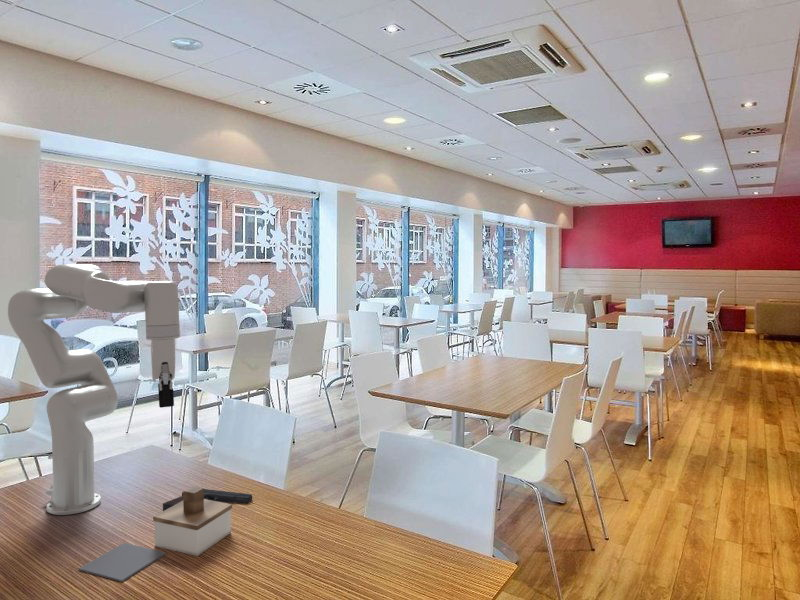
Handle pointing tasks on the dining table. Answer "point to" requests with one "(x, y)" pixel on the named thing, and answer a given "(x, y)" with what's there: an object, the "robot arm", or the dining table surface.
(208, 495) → the handgun
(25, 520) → the dining table surface
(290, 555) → the dining table surface
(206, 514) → the lid
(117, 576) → the mat
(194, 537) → the box
